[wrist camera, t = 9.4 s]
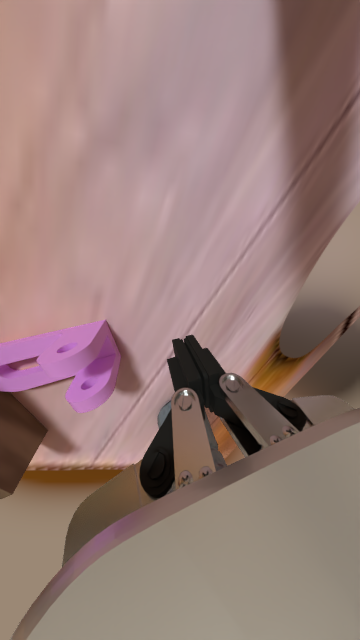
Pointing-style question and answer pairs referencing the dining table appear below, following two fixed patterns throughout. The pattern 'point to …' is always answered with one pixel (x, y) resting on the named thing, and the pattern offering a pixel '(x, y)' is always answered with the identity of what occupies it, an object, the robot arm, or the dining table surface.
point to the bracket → (66, 363)
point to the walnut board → (16, 442)
